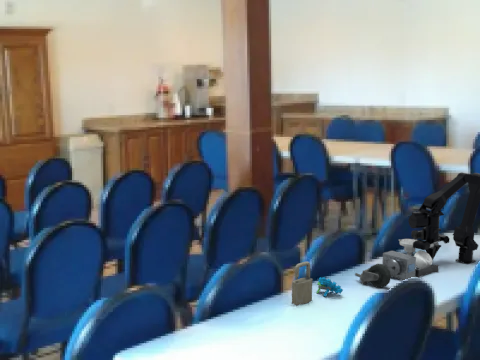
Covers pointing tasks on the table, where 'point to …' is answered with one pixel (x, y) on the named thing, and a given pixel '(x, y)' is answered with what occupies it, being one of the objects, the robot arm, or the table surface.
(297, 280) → the padlock
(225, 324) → the table surface
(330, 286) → the blue toy creature
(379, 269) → the caster wheel
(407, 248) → the showerhead
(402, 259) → the bracket
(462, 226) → the robot arm
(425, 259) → the white folded round lump
